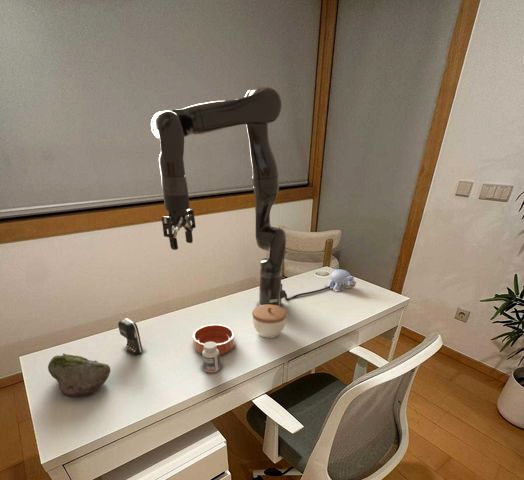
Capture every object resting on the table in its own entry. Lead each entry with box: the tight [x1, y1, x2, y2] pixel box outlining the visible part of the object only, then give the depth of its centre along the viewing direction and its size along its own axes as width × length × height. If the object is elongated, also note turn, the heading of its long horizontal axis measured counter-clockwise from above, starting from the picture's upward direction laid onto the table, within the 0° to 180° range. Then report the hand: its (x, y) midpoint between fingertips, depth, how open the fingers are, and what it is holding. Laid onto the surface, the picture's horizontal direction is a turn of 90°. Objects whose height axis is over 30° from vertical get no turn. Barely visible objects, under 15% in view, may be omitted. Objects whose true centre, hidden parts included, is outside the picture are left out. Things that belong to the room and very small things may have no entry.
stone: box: [47, 353, 111, 398], centre depth 94 cm, size 19×14×10 cm
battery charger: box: [117, 317, 144, 355], centre depth 107 cm, size 7×4×11 cm, turn 49°
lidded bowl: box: [251, 305, 288, 339], centre depth 119 cm, size 13×13×11 cm
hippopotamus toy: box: [326, 265, 357, 292], centre depth 157 cm, size 11×15×10 cm
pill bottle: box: [201, 342, 221, 373], centre depth 101 cm, size 5×5×9 cm
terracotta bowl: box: [192, 324, 236, 355], centre depth 113 cm, size 14×14×4 cm
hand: (182, 245), depth 107 cm, fingers open, 8 cm apart
